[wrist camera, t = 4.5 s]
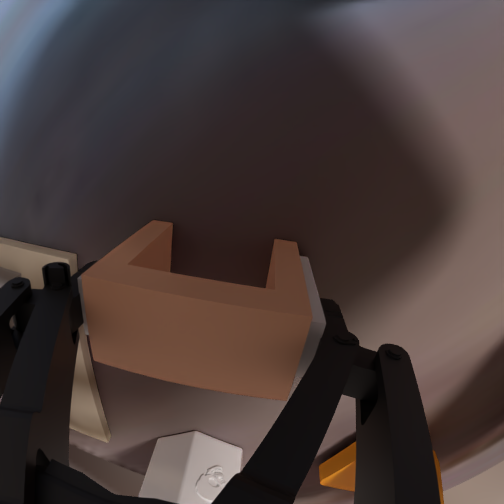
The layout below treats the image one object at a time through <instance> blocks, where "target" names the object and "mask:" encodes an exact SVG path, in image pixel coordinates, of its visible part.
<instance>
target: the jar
mask: <svg viewBox="0 0 504 504" xmlns="http://www.w3.org/2000/svg"><path fill="white" fill-rule="evenodd" d="M242 469H243V451H242V448H240V447H237V446H234V445H232V444H229V443H226V442H223V441H221V440H218V439H216V438H213V437H211V436H208V435H206V434H203V433H201V432H198V431H192V432H187V433H182V434H177V435H172V436H167V437H161V438H158V440H157V443H156V445H155V448H154V451H153V454H152V457H151V460H150V463H149V466H148V469H147V472H146V474H145V477H144V480H143V483H142V486H141V489H140V492H139V495H138V497H144V498H157V499H161V500H165V501H169V502H173V503H177V504H211V503H212V502H213V501H214V499H215V498H216V497H217V496H218V494H219V493H220V492H221V491H222V489H223V488H224V487H225V485H226V484H227V483H228V482H229V480H230V479H231V478H232V477H233V476H234V475H235V474H236V473H240V472H241V471H242Z"/></svg>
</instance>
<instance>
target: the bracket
mask: <svg viewBox="0 0 504 504" xmlns="http://www.w3.org/2000/svg"><path fill="white" fill-rule="evenodd" d="M433 455H434V460H435V466H436V472H437V479H438V485H439V493H440V501H441V504H444V500H443V489H442V480H441V472H440V465H439V461H438V458H437V456H436V453H435V451H434V450H433ZM355 472H356V442H354V443H353V444H351V445H350V446H348V447H347V448H345V449H344V450H342V451H341V452H339V453H338V454H336V455H335V456H333V457H332V458H330V459H328V460H327V461H325V462H324V463H322V464H321V465H320V466H319V474H320V484H321V485H324V486H328V487H333V488H338V489H343V490H349V491H354V492H355Z"/></svg>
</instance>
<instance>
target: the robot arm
mask: <svg viewBox="0 0 504 504" xmlns="http://www.w3.org/2000/svg"><path fill="white" fill-rule="evenodd" d="M300 259H301V264H302V268H303V273H304V278H305V282H306V287H307V292H308V296H309V301H310V306H311V311H312V316H313V318H312V321H311V325H310V328H309V332H308V335H307V338H306V342H305V345H304V348H303V352H302V355H301V358H300V361H299V365H298V368H297V371H296V374H295V377H299V378H302V379H301V381H300V383H299V384H298V386H297V388H296V389H295V391H294V393H293V394H292V396H291V397H290V399H289V401H288V402H287V404H286V406H285V407H284V409H283V410H282V412H281V414H280V415H279V417H278V418H277V420H276V421H275V423H274V424H273V426H272V428H271V429H270V431H269V432H268V434H267V435H266V437H265V438H264V440H263V441H262V443H261V444H260V445H259V447H258V448H257V450H256V451H255V453H254V454H253V456H252V457H251V458H250V460H249V461H248V463H247V464H246V465H245V467H244V468H243V469H242V471H241V472H240V473H236V474H235V475H234V476H233V477H232V478H231V479H230V480H229V482H228V483H227V484H226V485H225V487H224V488H223V489H222V491H221V492H220V493H219V494H218V496H217V497H216V498H215V499H214V501H213V502H212V503H211V504H293V503H294V500H295V496H296V494H297V492H298V490H299V488H300V486H301V485H302V483H303V481H304V479H305V477H306V475H307V473H308V471H309V469H310V467H311V465H312V462H313V460H314V458H315V456H316V454H317V452H318V450H319V447H320V445H321V443H322V441H323V439H324V436H325V434H326V432H327V429H328V427H329V425H330V422H331V420H332V418H333V415H334V413H335V410H336V408H337V405H338V403H339V400H340V398H341V395H342V394H343V395H346V396H350V397H353V398H356V472H355V495H354V504H441V501H440V493H439V485H438V479H437V472H436V466H435V460H434V455H433V450H432V444H431V440H430V435H429V430H428V425H427V421H426V417H425V412H424V408H423V404H422V400H421V396H420V392H419V388H418V385H417V381H416V377H415V374H414V370H413V367H412V363H411V360H410V357H409V355H408V353H407V352H406V351H405V350H404V349H403V348H402V347H399V346H398V345H394V344H383V345H381V346H380V347H379V349H378V351H377V352H376V351H372V350H369V349H366V348H363V347H361V346H359V340H358V338H357V337H356V336H355V335H353V334H352V333H350V332H348V330H347V327H346V324H345V321H344V319H343V316H342V313H341V310H340V308H339V305H337V304H336V303H335V302H334V301H333V300H330V299H323V298H319V294H318V291H317V287H316V283H315V280H314V276H313V273H312V269H311V266H310V262H309V259H308V257H304V256H300ZM96 262H98V261H93V262H90V263H88V264H86V265H85V266H84V267H82V269H80V270H79V271H78V272H76V273H75V274H73V275H72V276H71V272H70V265H69V264H67V263H64V262H52V263H48V264H46V265H44V266H43V267H42V274H43V281H44V288H43V289H31V283H30V280H29V279H27V278H24V277H18V278H17V277H15V278H14V279H11V280H9V281H8V282H6V283H5V284H4V285H3V286H2V287H1V288H0V398H1V396H2V395H3V397H2V400H1V404H0V504H177V503H173V502H169V501H165V500H161V499H157V498H144V497H132V496H122V495H116V494H113V493H111V492H110V491H108V490H107V489H105V488H103V487H102V486H101V485H99V484H97V483H96V482H95V481H93V480H92V479H90V478H89V477H87V476H86V475H85V474H83V473H81V472H79V471H77V470H75V469H72V468H70V467H69V460H68V458H69V452H68V451H69V426H70V411H71V399H72V389H73V380H74V372H75V364H76V357H77V350H78V344H79V338H80V335H79V329H78V328H79V327H80V326H81V325H82V324H83V325H84V331H85V334H86V335H89V332H88V326H87V319H86V313H85V305H84V297H83V288H82V279H81V274H83V273H84V272H85V271H86V270H88V269H89V268H90V267H91V266H93V265H94V264H95V263H96ZM11 318H12V320H13V323H14V326H13V327H12V328H11V327H10V325H9V324H10V320H11Z"/></svg>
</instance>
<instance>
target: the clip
mask: <svg viewBox="0 0 504 504" xmlns="http://www.w3.org/2000/svg"><path fill="white" fill-rule="evenodd" d="M172 231H173V223H170V222H163V221H157V220H152V221H151V222H150V223H148V224H147V225H145V226H144V227H143V228H141V229H140V230H138V231H137V232H136V233H134V234H133V235H132V236H130V237H129V238H128V239H126V240H125V241H124V242H122V243H121V244H120V245H118V246H117V247H116V248H114V249H113V250H112V251H110V252H109V253H108V254H107V255H105V256H104V257H103V258H101V259H100V260H99V261H98V262H96V263H95V264H94V265H93V266H91V267H90V268H89V269H88V270H86V271H85V272H84V273H83V274H81V279H82V288H83V297H84V305H85V313H86V319H87V326H88V332H89V338H90V344H91V349H92V354H93V359H94V361H97V362H100V363H103V364H106V365H110V366H113V367H116V368H120V369H123V370H127V371H130V372H134V373H138V374H141V375H145V376H149V377H153V378H157V379H161V380H165V381H170V382H174V383H179V384H183V385H188V386H193V387H198V388H203V389H208V390H213V391H219V392H225V393H231V394H237V395H244V396H251V397H258V398H266V399H275V400H284V401H287V398H288V395H289V392H290V389H291V386H292V383H293V380H294V377H295V374H296V371H297V368H298V365H299V361H300V358H301V355H302V352H303V348H304V345H305V342H306V338H307V335H308V332H309V328H310V325H311V321H312V318H313V316H312V311H311V306H310V301H309V296H308V292H307V287H306V282H305V278H304V273H303V268H302V264H301V259H300V255H299V251H298V246H297V242H292V241H286V240H280V239H274V245H273V250H272V256H271V261H270V267H269V272H268V278H267V283H266V288H259V287H253V286H247V285H240V284H234V283H228V282H222V281H216V280H210V279H204V278H199V277H193V276H187V275H182V274H176V273H170V268H171V248H172Z"/></svg>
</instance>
